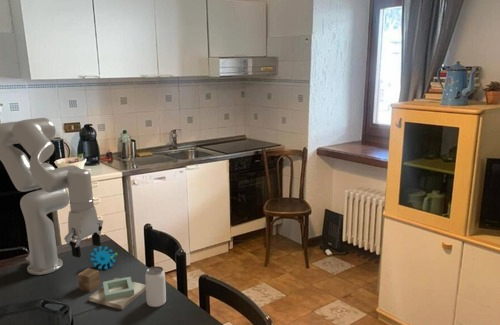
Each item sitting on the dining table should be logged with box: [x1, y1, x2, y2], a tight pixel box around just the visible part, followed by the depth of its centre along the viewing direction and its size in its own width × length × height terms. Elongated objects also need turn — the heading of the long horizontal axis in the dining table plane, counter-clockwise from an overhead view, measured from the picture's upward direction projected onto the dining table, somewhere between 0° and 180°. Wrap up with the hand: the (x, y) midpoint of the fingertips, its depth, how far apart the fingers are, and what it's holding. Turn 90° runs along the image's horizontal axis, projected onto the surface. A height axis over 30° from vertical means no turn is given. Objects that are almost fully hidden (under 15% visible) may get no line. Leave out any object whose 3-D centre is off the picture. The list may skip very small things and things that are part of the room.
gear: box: [89, 245, 118, 271], centre depth 166 cm, size 11×6×10 cm
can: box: [144, 265, 167, 308], centre depth 139 cm, size 6×6×12 cm
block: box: [77, 267, 101, 293], centre depth 149 cm, size 5×5×6 cm
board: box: [88, 277, 146, 310], centre depth 145 cm, size 14×14×2 cm
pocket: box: [102, 276, 134, 301], centre depth 145 cm, size 10×10×2 cm
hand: (87, 250), depth 146 cm, fingers open, 9 cm apart
